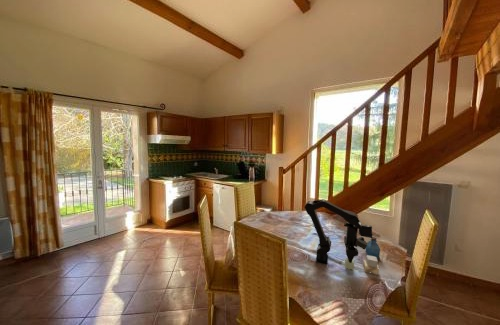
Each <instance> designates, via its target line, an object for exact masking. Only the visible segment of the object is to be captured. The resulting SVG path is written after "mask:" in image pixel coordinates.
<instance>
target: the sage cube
mask: <svg viewBox="0 0 500 325" xmlns="http://www.w3.org/2000/svg"><path fill="white" fill-rule="evenodd" d="M345 268H348V269H347V270H350V269H352V270H351V271H354V268H355V262H354V259H353V260H352V262H351V263H349V260H348V257H345V258H344V269H345Z"/></svg>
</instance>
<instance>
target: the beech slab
mask: <svg viewBox="0 0 500 325" xmlns="http://www.w3.org/2000/svg"><path fill="white" fill-rule="evenodd" d="M362 265H363V269H365V270H364V272H365V271H366V272H365V273H368V272H371V273H370V274H372V273H375V274H374V275H377V274H380V268H379V265H378V264H377V268H376V267H371V266H367V262H366V259H363V264H362Z"/></svg>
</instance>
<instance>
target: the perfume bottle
mask: <svg viewBox="0 0 500 325" xmlns="http://www.w3.org/2000/svg"><path fill="white" fill-rule="evenodd" d="M377 241H378V240H377V237H375V236H372V238H370V240H368V241H366V242H367V247H366V249H365V253H366V256H367V255H369V256H374V257H376V258H377V259H379V258H380V252H381V248H380V246H379V244H378V243H377Z"/></svg>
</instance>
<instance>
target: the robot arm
mask: <svg viewBox="0 0 500 325" xmlns="http://www.w3.org/2000/svg"><path fill="white" fill-rule="evenodd" d="M321 208H324V209H326V210H328V211H330V212H332V213H334V214H335V215H338V216H340V217H341V218H342V219H343V220H344V221H345V222H344V223H343V226H344V227H346V233H345V236H344V237H343V240H344V241H343V242H344V247H345V255H346V258H348V260H349V263H351V262H352V260H354V257H359V249H358V247H359V248H360V249H362V250H365V251H366V247H367V242H368V241H366V240H365V238H370V239H371V238H372V237H373V226H372V225H367V224H362V222H361V221H360V219H359V215H358V214H357V212H353V211H350V210H346V209H343V208H342V207H339V206H338V205H336V204H334V203H332V202H330V201H328V200H326V199H324V198H322V199H318V200H317V199H315V200H308V201H307V202H306V203H305V205H304V210H305V212H306V213H307V215H308V216H309V217H310V220H312V225H313V226H314V228H315V232H316V233H317V236H318V241H319V243H318V244H317V248H316V256H315V257H316V258H315V262H316V263H319V264H324V265H327V264H328V262H329V252H330V251H331V248H332V241H331V238H330V236H327V235H326V233H325V231H324V229H323V228H324V227H323V226H322V224H321V221H320V218H319V217H318V213H317V210H318V209H321ZM358 235H359V236H360V237H358ZM364 237H365V238H364Z"/></svg>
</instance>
